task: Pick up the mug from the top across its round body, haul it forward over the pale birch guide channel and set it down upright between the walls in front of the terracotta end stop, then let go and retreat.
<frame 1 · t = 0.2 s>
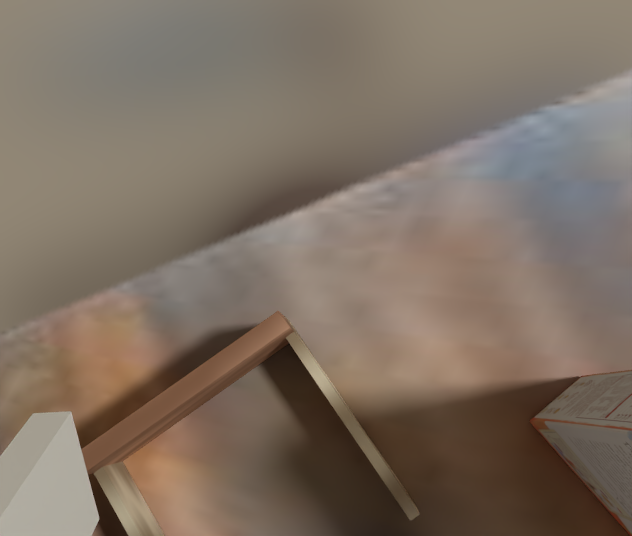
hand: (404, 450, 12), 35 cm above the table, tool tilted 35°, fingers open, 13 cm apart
channel: (255, 477, 45), on the table
cracker box: (621, 469, 43), on the table
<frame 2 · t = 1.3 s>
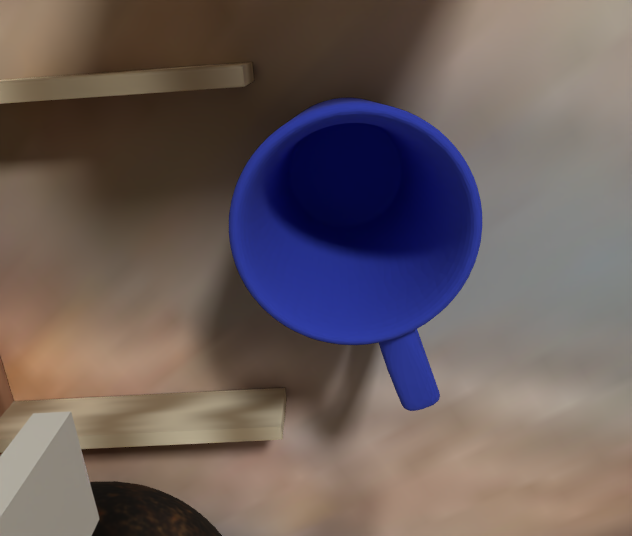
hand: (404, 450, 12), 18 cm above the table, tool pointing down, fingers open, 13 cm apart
channel: (106, 259, 30), on the table
mug: (358, 204, 29), on the table
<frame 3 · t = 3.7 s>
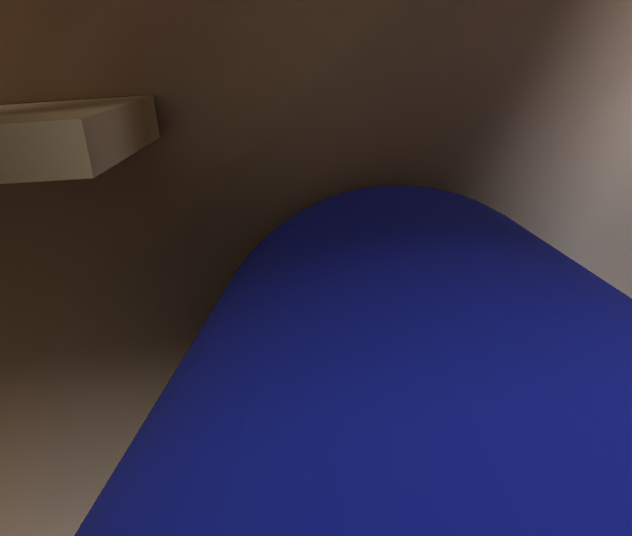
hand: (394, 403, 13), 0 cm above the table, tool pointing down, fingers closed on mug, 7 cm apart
mug: (409, 392, 14), on the table, touching gripper
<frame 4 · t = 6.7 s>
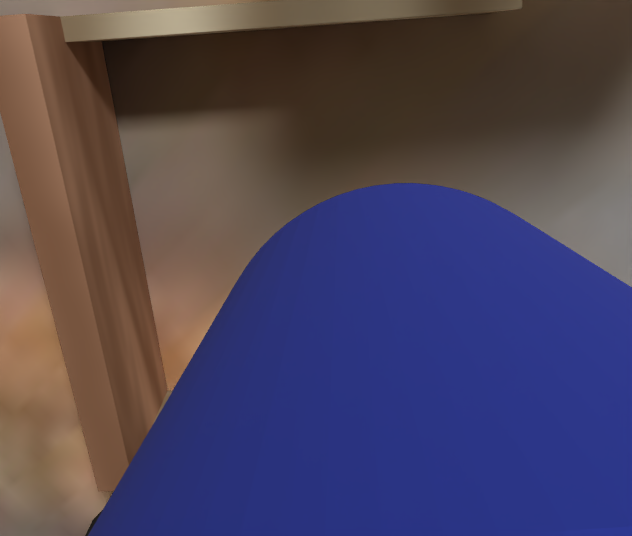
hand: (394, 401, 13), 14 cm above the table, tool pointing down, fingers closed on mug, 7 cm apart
channel: (293, 226, 26), on the table
mug: (415, 390, 14), point 13 cm above the table, touching gripper
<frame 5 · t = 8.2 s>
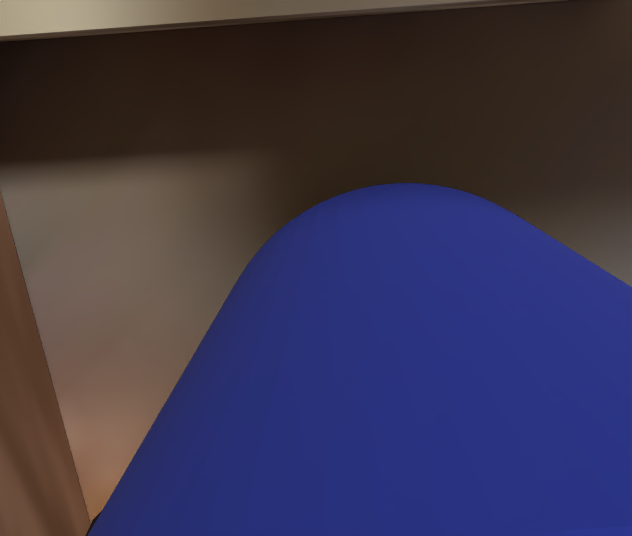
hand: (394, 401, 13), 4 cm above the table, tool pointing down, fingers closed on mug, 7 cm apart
channel: (279, 331, 17), on the table
mug: (415, 390, 14), point 3 cm above the table, touching gripper
when the fingers open (1 cm above the table, at t = 9.6 s): mug stays where it is, on the table.
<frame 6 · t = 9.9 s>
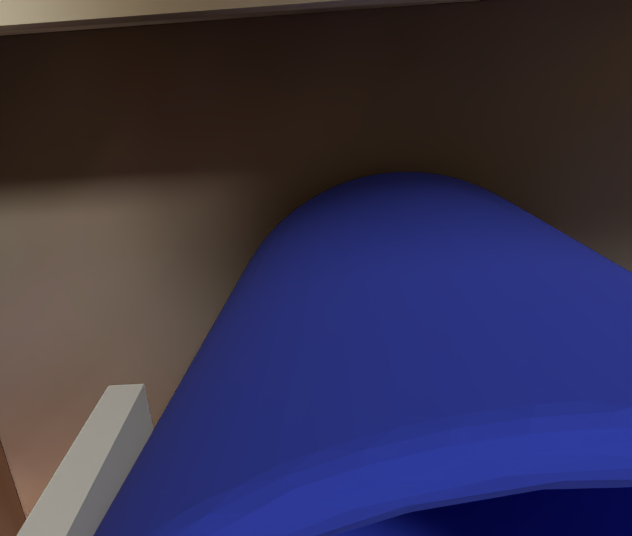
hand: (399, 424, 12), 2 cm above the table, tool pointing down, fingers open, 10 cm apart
channel: (266, 383, 14), on the table
mug: (414, 370, 14), on the table
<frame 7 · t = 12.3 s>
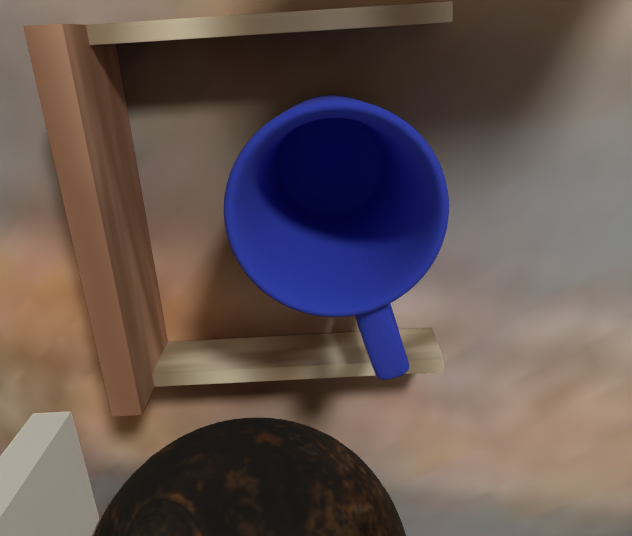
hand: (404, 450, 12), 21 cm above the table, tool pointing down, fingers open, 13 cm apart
channel: (274, 199, 31), on the table
mug: (341, 194, 31), on the table
glass bottle: (262, 489, 39), on the table
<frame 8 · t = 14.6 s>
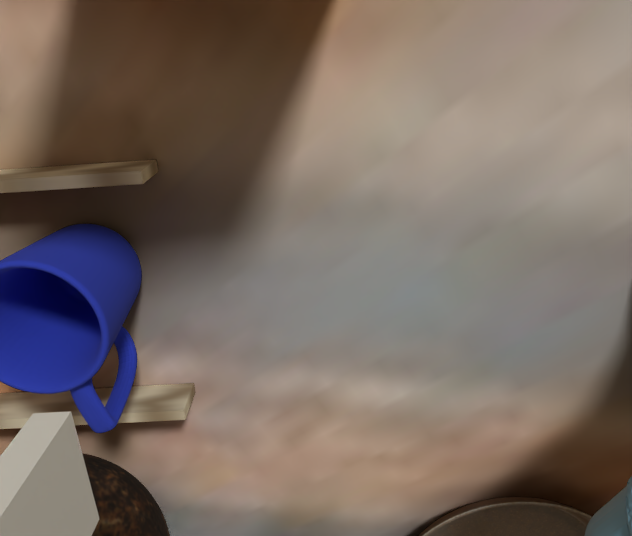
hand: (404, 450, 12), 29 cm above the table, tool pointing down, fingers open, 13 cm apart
channel: (60, 291, 42), on the table
mug: (111, 287, 42), on the table
glass bottle: (85, 504, 50), on the table
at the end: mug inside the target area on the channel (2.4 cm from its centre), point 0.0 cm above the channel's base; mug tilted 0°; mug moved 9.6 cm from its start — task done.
